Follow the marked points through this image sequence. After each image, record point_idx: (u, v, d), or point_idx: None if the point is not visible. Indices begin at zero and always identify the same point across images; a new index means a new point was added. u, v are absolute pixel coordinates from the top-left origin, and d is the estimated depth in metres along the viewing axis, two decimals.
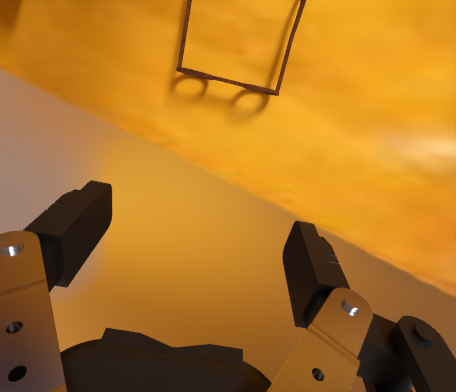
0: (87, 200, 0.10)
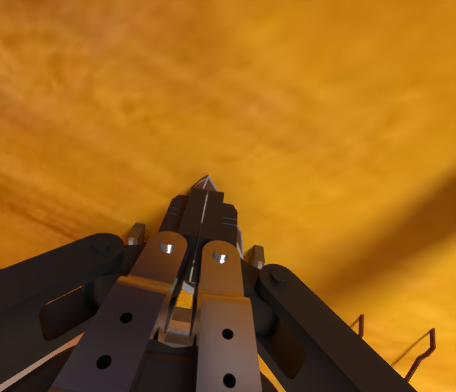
0: (200, 204, 0.11)
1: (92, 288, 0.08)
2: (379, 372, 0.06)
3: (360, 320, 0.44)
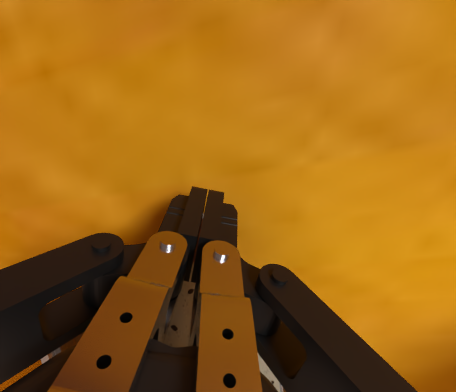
0: (200, 204, 0.11)
1: (92, 288, 0.08)
2: (379, 372, 0.06)
3: None
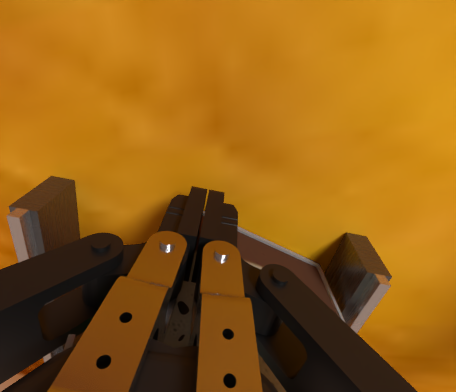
0: (199, 204, 0.11)
1: (91, 288, 0.08)
2: (380, 373, 0.06)
3: None
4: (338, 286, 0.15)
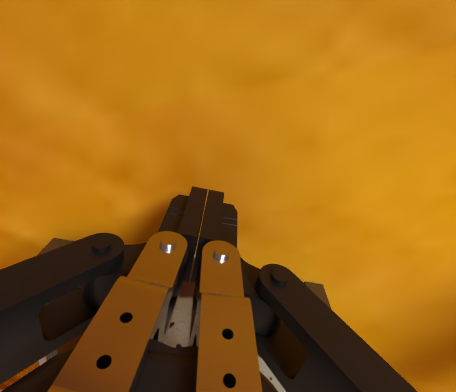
0: (200, 204, 0.11)
1: (92, 288, 0.08)
2: (379, 372, 0.06)
3: None
4: None
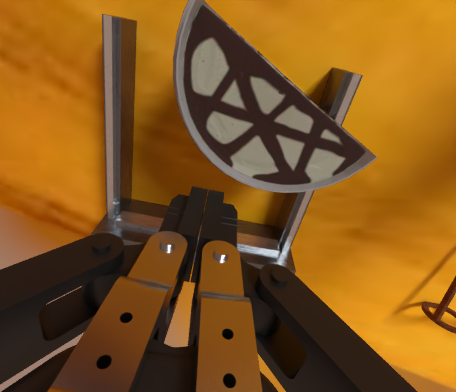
0: (200, 204, 0.11)
1: (92, 288, 0.08)
2: (379, 372, 0.06)
3: None
4: (326, 104, 0.21)
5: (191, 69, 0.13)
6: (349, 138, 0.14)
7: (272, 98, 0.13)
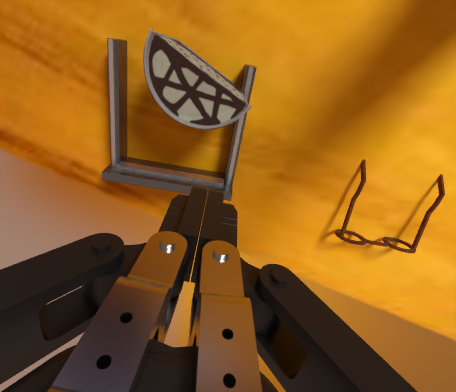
0: (200, 204, 0.11)
1: (92, 288, 0.08)
2: (379, 372, 0.06)
3: (362, 166, 0.41)
4: None
5: (152, 65, 0.27)
6: (236, 98, 0.28)
7: (193, 78, 0.27)
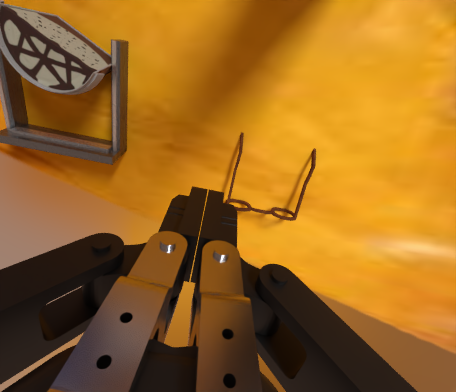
0: (200, 204, 0.11)
1: (92, 288, 0.08)
2: (379, 373, 0.06)
3: (240, 138, 0.45)
4: None
5: (5, 33, 0.31)
6: (84, 65, 0.32)
7: (41, 46, 0.31)
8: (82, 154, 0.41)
